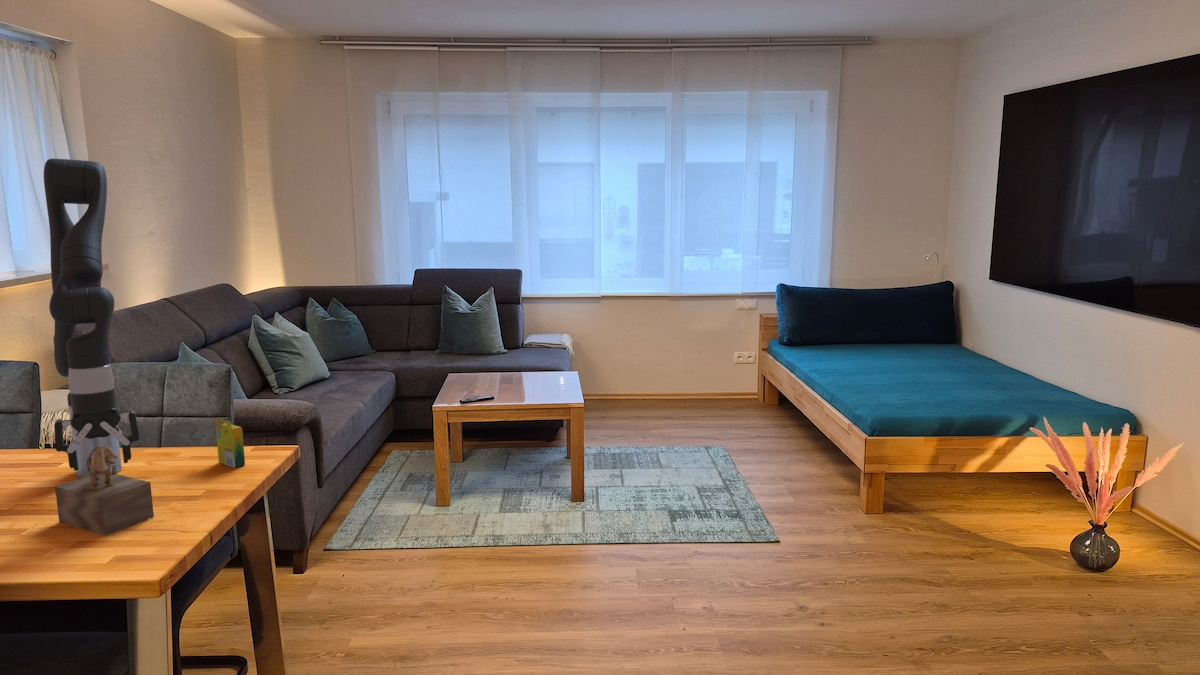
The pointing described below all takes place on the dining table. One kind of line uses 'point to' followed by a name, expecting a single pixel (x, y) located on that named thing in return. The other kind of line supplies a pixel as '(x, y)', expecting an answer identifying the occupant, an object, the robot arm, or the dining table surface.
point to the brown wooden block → (104, 503)
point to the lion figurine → (101, 465)
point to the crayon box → (229, 444)
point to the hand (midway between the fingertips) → (101, 465)
